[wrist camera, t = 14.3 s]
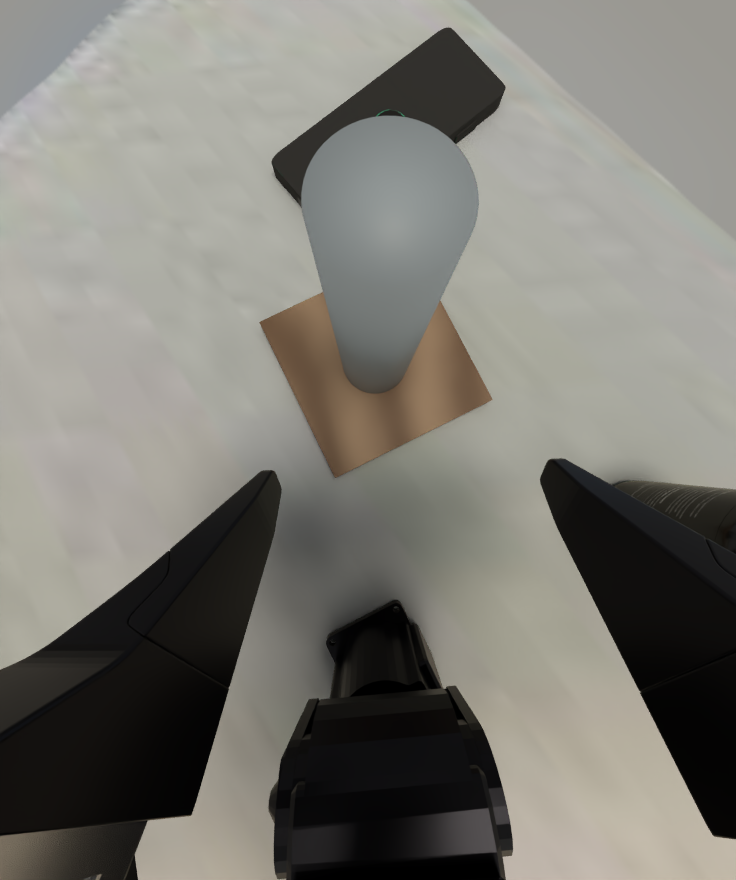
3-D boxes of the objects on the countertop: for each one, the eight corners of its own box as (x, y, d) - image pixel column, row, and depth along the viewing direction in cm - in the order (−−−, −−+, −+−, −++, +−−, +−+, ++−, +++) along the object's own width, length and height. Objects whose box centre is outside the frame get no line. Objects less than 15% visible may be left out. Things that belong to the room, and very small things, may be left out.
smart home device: (266, 156, 23) (447, 20, 24) (273, 178, 24) (441, 49, 25) (329, 229, 22) (510, 88, 23) (332, 246, 24) (500, 113, 25)
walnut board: (336, 477, 22) (335, 478, 21) (263, 328, 23) (259, 322, 22) (487, 402, 23) (492, 399, 22) (411, 258, 24) (413, 249, 23)
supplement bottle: (592, 564, 22) (858, 692, 10) (587, 480, 23) (837, 506, 11) (675, 564, 22) (1038, 689, 10) (669, 479, 23) (1011, 504, 11)
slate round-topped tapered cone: (372, 406, 22) (382, 320, 8) (329, 358, 22) (264, 189, 8) (420, 364, 22) (514, 207, 8) (377, 317, 22) (397, 82, 8)
